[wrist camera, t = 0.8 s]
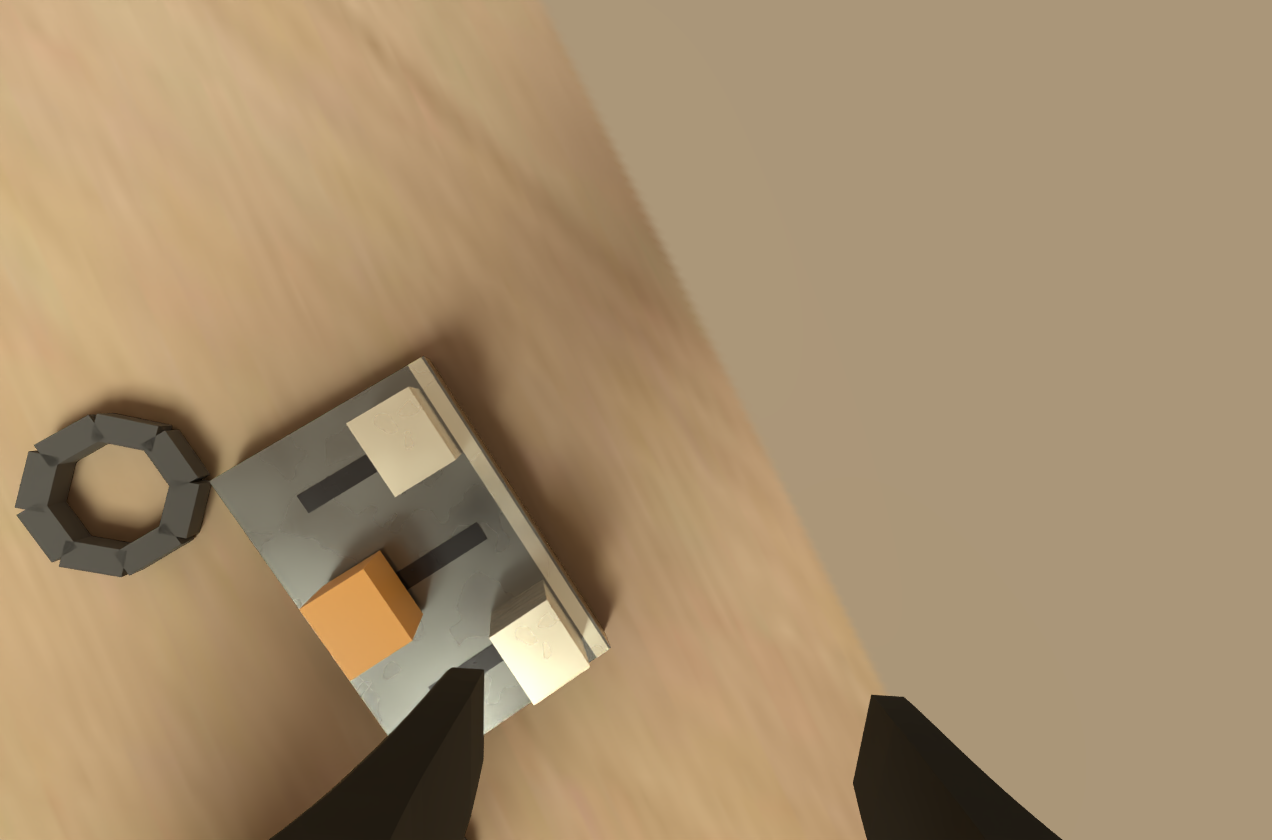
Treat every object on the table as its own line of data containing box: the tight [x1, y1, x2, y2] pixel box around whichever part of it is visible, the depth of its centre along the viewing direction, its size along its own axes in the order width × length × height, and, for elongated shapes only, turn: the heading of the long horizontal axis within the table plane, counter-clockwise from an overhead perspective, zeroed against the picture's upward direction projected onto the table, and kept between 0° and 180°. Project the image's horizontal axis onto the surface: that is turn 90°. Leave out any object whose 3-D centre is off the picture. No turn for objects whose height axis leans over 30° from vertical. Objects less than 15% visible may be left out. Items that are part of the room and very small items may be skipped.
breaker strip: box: [209, 356, 611, 735], centre depth 26 cm, size 9×14×5 cm, turn 32°
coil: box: [15, 413, 211, 577], centre depth 26 cm, size 6×6×1 cm
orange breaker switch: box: [299, 551, 423, 681], centre depth 25 cm, size 2×3×3 cm
